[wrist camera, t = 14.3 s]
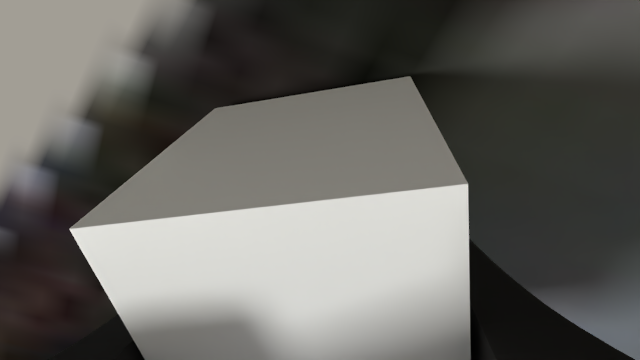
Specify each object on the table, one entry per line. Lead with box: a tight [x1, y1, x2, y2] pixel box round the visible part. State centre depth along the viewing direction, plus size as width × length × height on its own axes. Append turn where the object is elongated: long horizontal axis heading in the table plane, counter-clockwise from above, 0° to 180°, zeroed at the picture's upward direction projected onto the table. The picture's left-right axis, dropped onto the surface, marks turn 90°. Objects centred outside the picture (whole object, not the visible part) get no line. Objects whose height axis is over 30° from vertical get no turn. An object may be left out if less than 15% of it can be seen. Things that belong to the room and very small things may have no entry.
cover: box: [69, 76, 471, 360], centre depth 10 cm, size 6×9×7 cm, turn 11°
